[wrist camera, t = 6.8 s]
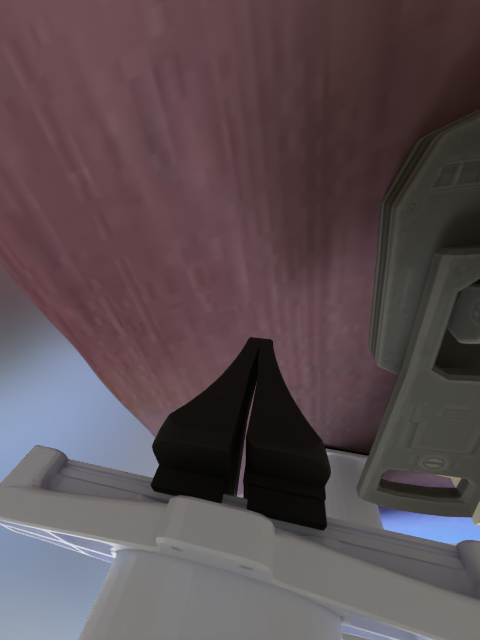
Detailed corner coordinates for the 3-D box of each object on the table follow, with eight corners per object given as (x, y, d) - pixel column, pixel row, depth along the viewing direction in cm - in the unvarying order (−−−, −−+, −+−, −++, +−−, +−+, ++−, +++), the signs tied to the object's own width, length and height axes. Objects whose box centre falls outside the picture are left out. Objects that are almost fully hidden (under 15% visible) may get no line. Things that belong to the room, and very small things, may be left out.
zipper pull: (349, 503, 18) (519, 65, 5) (335, 427, 24) (396, 119, 10) (480, 525, 16) (1416, -118, 3) (433, 436, 22) (671, 69, 8)
